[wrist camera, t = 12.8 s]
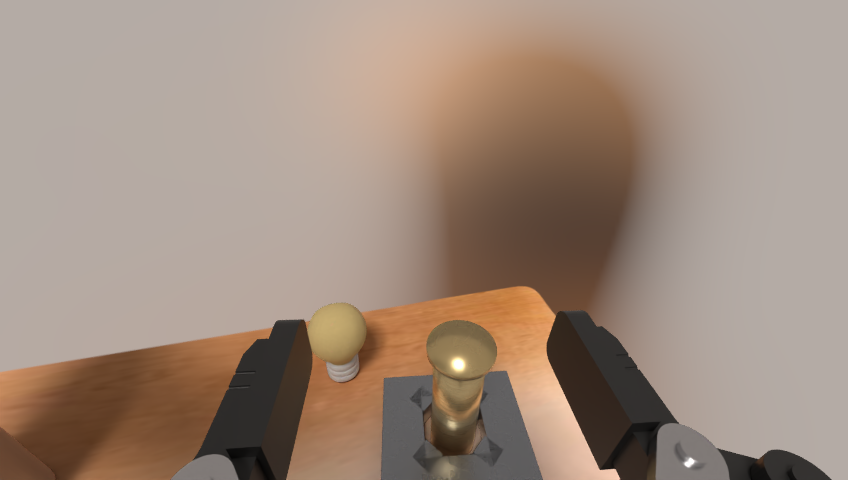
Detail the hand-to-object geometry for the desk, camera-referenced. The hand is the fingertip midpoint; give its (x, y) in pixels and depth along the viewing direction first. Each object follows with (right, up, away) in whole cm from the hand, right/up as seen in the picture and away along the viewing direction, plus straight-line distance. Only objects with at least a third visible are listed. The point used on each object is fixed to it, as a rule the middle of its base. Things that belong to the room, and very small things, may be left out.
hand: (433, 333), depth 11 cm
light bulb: (-10, -13, +30) cm, 34 cm away
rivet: (+3, -17, +23) cm, 29 cm away
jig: (+3, -17, +24) cm, 29 cm away
